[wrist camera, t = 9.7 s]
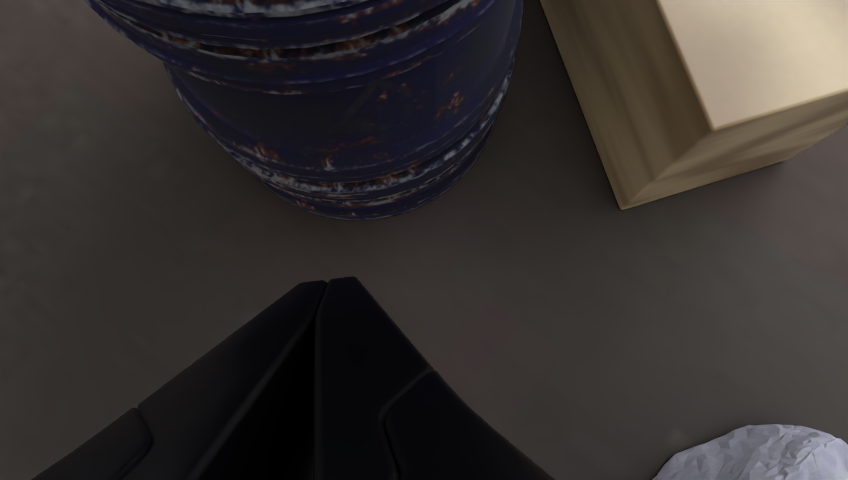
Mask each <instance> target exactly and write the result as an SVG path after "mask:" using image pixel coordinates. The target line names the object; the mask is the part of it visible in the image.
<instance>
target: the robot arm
mask: <svg viewBox="0 0 848 480" xmlns="http://www.w3.org/2000/svg"><path fill="white" fill-rule="evenodd" d="M137 408H138V409H137ZM137 408H131V409H130V410H129V411H127V412H126V413H125V414H123V415H122V416H121V417H120V418H118V419H117V420H116V421H114V422H113V423H112V424H110V425H109V426H108V427H106V428H105V429H103V430H102V431H101V432H99V433H98V434H96V435H95V436H94V437H92V438H91V439H90V440H88V441H87V442H85V443H84V444H83V445H81V446H80V447H78V448H77V449H76V450H74V451H73V452H72V453H70V454H69V455H67V456H66V457H64V458H63V459H61V460H60V461H58V462H57V463H55V464H54V465H52V466H51V467H49V468H48V469H46V470H45V471H43V472H42V473H40V474H39V475H37V476H36V477H34V478H33V479H31V480H555V479H554V478H552V477H551V476H550V475H549V474H548V473H546V472H545V471H544V470H543V469H542V468H540V467H539V466H538V465H537V464H536V463H534V462H533V461H532V460H531V459H529V458H528V457H527V456H526V455H525V454H523V453H522V452H521V451H520V450H519V449H517V448H516V447H515V446H514V445H513V444H511V443H510V442H509V441H508V440H507V439H505V438H504V437H503V436H502V435H501V434H499V433H498V432H497V431H496V430H494V429H493V428H492V427H491V426H490V425H489V424H488V423H487V422H485V421H484V420H483V419H482V418H481V417H480V416H479V415H478V414H476V413H475V412H474V411H473V410H472V409H471V408H470V407H469V406H468V405H467V404H466V403H465V402H464V401H463V400H462V399H461V398H460V397H459V396H458V395H457V394H456V393H455V392H454V391H453V389H452V388H451V387H450V386H449V385H448V384H447V383H446V382H445V380H444V379H443V378H442V377H441V376H440V375H439V373H438V372H437V371H435V370H434V369H433V367H432V366H431V365H430V364H429V363H428V362H427V360H426V359H425V358H424V357H423V356H422V354H421V353H420V352H419V351H418V350H417V349H416V347H415V346H414V345H413V344H412V343H411V341H410V340H409V339H408V338H407V337H406V336H405V334H404V333H403V332H402V331H401V330H400V328H399V327H398V326H397V325H396V324H395V323H394V321H393V320H392V319H391V318H390V317H389V315H388V314H387V313H386V312H385V311H384V310H383V308H382V307H381V306H380V305H379V304H378V302H377V301H376V300H375V299H374V298H373V297H372V295H371V294H370V293H369V292H368V291H367V289H366V288H365V287H364V286H363V285H362V284H361V282H360V281H359V280H358V279H357V278H356V277H344V278H336V279H331V280H330V281H329V282H328V283H327V282H326V281H324V280H320V281H311V282H303V283H300V284H298V285H297V286H295V287H294V288H293V289H291V290H290V291H289V292H287V293H286V294H285V295H283V296H282V297H281V298H279V299H278V300H277V301H275V302H274V303H273V304H271V305H270V306H269V307H267V308H266V309H265V310H263V311H262V312H261V313H259V314H258V315H257V316H255V317H254V318H253V319H251V320H250V321H249V322H247V323H246V324H245V325H243V326H242V327H241V328H239V329H238V330H237V331H235V332H234V333H233V334H232V335H230V336H229V337H228V338H226V339H225V340H224V341H222V342H221V343H220V344H218V345H217V346H216V347H214V348H213V349H212V350H210V351H209V352H208V353H206V354H205V355H204V356H202V357H201V358H200V359H198V360H197V361H196V362H194V363H193V364H192V365H190V366H189V367H188V368H186V369H185V370H184V371H182V372H181V373H180V374H178V375H177V376H176V377H174V378H173V379H172V380H170V381H169V382H168V383H166V384H165V385H164V386H162V387H161V388H160V389H158V390H157V391H156V392H154V393H153V394H152V395H150V396H149V397H148V398H146V399H145V400H144V401H142V402H141V403H140V404H139V405H138V407H137Z"/></svg>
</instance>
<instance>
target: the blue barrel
mask: <svg viewBox="0 0 848 480" xmlns="http://www.w3.org/2000/svg"><path fill="white" fill-rule="evenodd" d="M84 1H85V2H86V3H87V4H88V5H89V6H90V7H91V8H92V9H93V10H94V11H95V12H97V13H98V14H99V15H100V16H101V17H102V18H103V19H104V20H105V21H106V22H107V23H108V24H109V25H111V26H112V27H113V28H114V29H115V30H116V31H118V32H119V33H121V34H122V35H124V36H126V37H127V38H129V39H130V40H132V41H133V42H134V43H135V44H137V45H138V46H140V47H142V48H143V49H145V50H146V51H148V52H149V53H151V54H152V55H154V56H155V57H157V58H159V59H160V60H162V61H163V63H164V66H165V69H166V71H167V73H168V74H169V76H170V78H171V81H172V83H173V85H174V87H175V89H176V91H177V93H178V95H179V97H180V99H181V101H182V103H183V104H184V105H185V107H186V108H187V109H188V111H189V112H190V113H191V115H192V116H193V117H194V119H195V120H196V121H197V123H198V124H199V125H200V126H201V127H202V128H203V129H204V130H206V131H207V132H208V133H209V134H210V135H211V136H212V137H213V138H214V139H215V140H216V141H217V142H218V143H219V144H220V145H221V146H222V147H223V148H224V149H225V150H226V151H227V152H228V153H229V154H230V155H231V156H232V157H233V158H234V159H235V160H236V161H237V162H238V163H239V164H241V165H242V166H243V167H244V168H245V169H247V170H248V171H250V172H251V173H252V174H253V175H254V176H255V177H256V178H257V179H258V180H259V181H260V182H261V183H262V184H263V185H265V186H266V187H267V188H268V189H269V190H270V191H271V192H273V193H274V194H276V195H277V196H279V197H280V198H282V199H283V200H285V201H286V202H288V203H290V204H292V205H295V206H297V207H299V208H301V209H303V210H305V211H308V212H311V213H315V214H318V215H322V216H326V217H329V218H337V219H346V220H371V219H379V218H385V217H390V216H395V215H399V214H402V213H404V212H407V211H410V210H413V209H416V208H419V207H420V206H422V205H424V204H426V203H428V202H430V201H432V200H433V199H435V198H437V197H439V196H440V195H442V194H443V193H444V192H445V191H447V190H448V189H449V188H451V187H452V186H453V185H455V184H456V183H457V182H458V181H459V180H460V179H461V178H462V177H463V176H464V175H465V174H466V173H467V172H468V171H469V170H470V168H471V167H472V166H473V165H474V163H475V162H476V160H477V159H478V157H479V156H480V154H481V153H482V152H483V150H484V148H485V146H486V144H487V142H488V140H489V138H490V135H491V133H492V131H493V128H494V125H495V121H496V117H497V114H498V111H499V109H500V107H501V105H502V103H503V101H504V98H505V95H506V92H507V88H508V84H509V81H510V77H511V74H512V70H513V66H514V62H515V58H516V48H517V45H518V41H519V38H520V31H521V23H522V14H523V1H524V0H84Z"/></svg>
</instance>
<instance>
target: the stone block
mask: <svg viewBox="0 0 848 480" xmlns="http://www.w3.org/2000/svg"><path fill="white" fill-rule="evenodd" d="M652 480H848V445H847V444H846V443H845V442H844V441H843V440H842V439H840V438H839V439H837V438H835V437H834V436H832V435H831V434H828V433H824V432H822V431H819V430H815V429H811V428H807V427H804V426H793V425H779V424H771V425H756V426H754V425H747V426H745V427H742V428H738V429H735V430H733V431H731V432H729V433H728V434H726V435H724V436H721V437H719V438H716V439H713V440H711V441H709V442H707V443H705V444H701V445H698V446H695V447H692V448H689V449H687V450H684V451H681V452H679V453H676V454H675V455H674V456H673V457H672V458H671V459H670V460H669V461H668V462H667V463H666V464H665V465H664V466H663V467H662V469H661V470H660V471H659V473H658V474H657V476H656V477H654V478H653V479H652Z"/></svg>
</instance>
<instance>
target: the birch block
mask: <svg viewBox="0 0 848 480" xmlns="http://www.w3.org/2000/svg"><path fill="white" fill-rule="evenodd" d="M540 2H541V5H542V7H543V10H544V13H545V15H546V18H547V20H548V23H549V26H550V28H551V31H552V33H553V36H554V39H555V41H556V44H557V46H558V49H559V52H560V54H561V57H562V59H563V62H564V65H565V67H566V70H567V72H568V75H569V78H570V80H571V83H572V85H573V88H574V91H575V93H576V96H577V98H578V101H579V104H580V106H581V109H582V111H583V114H584V117H585V119H586V122H587V124H588V127H589V130H590V132H591V135H592V137H593V140H594V143H595V145H596V148H597V150H598V153H599V156H600V158H601V161H602V163H603V166H604V169H605V171H606V174H607V176H608V179H609V182H610V184H611V187H612V189H613V192H614V195H615V197H616V200H617V202H618V205H619V208H620V209H621V210H624V209H628V208H631V207H634V206H638V205H641V204H644V203H647V202H651V201H654V200H657V199H661V198H664V197H667V196H670V195H674V194H677V193H680V192H684V191H687V190H690V189H693V188H697V187H700V186H703V185H707V184H710V183H713V182H716V181H720V180H723V179H726V178H730V177H733V176H736V175H739V174H743V173H746V172H749V171H753V170H756V169H759V168H762V167H766V166H769V165H772V164H776V163H779V162H782V161H785V160H788V159H790V158H792V157H793V156H795V155H797V154H798V153H800V152H802V151H803V150H805V149H807V148H808V147H810V146H812V145H813V144H815V143H817V142H818V141H820V140H822V139H823V138H825V137H827V136H828V135H830V134H832V133H833V132H835V131H837V130H838V129H840V128H842V127H843V126H845V125H847V124H848V0H540Z"/></svg>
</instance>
